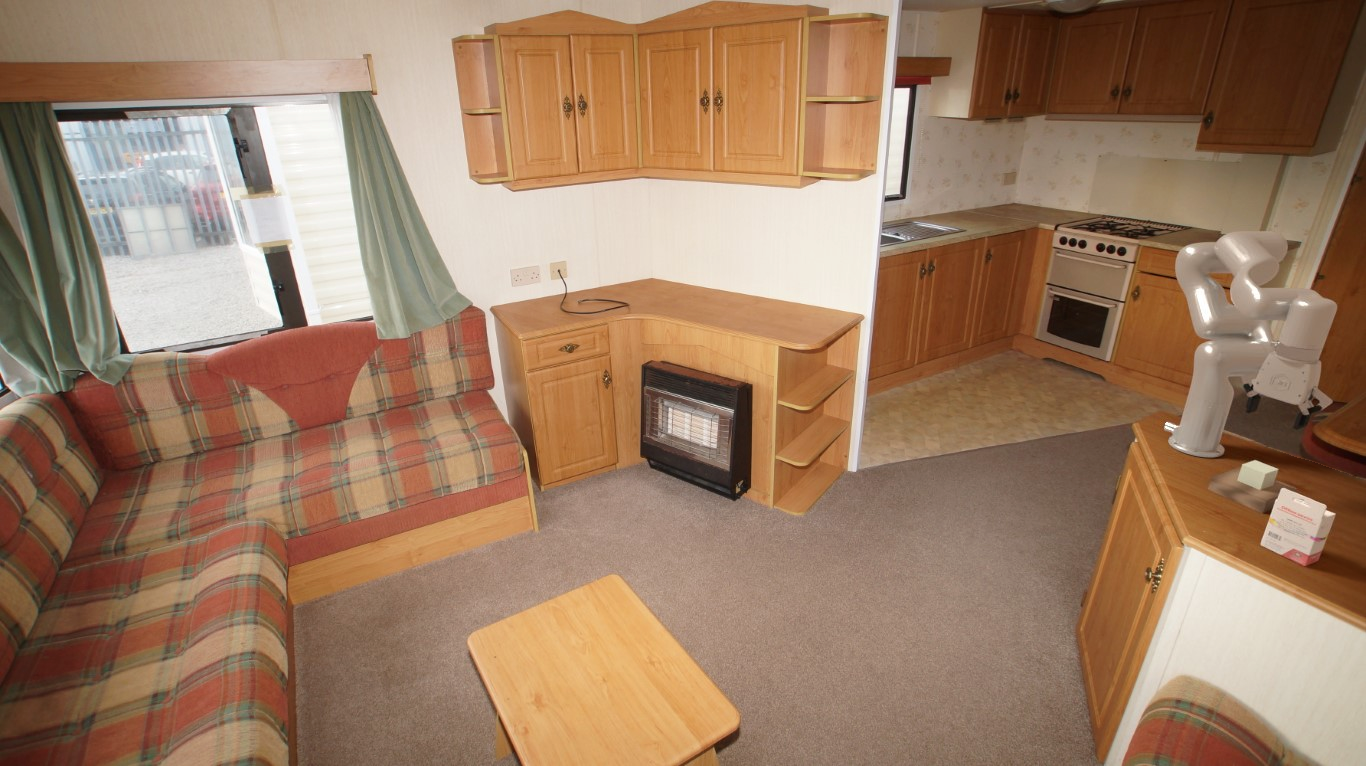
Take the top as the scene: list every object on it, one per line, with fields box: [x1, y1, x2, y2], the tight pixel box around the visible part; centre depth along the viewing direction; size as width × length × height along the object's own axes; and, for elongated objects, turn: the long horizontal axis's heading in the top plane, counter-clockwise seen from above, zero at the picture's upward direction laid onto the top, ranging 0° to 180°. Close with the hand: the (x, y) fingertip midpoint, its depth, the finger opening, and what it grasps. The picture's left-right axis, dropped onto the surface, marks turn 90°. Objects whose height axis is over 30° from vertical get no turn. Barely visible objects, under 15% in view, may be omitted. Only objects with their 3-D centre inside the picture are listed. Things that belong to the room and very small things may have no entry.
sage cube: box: [1237, 459, 1279, 490], centre depth 161 cm, size 5×5×4 cm
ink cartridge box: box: [1260, 488, 1336, 567], centre depth 139 cm, size 9×5×15 cm, turn 22°
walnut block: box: [1207, 466, 1297, 514], centre depth 162 cm, size 12×12×4 cm
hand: (1273, 419), depth 155 cm, fingers open, 9 cm apart
